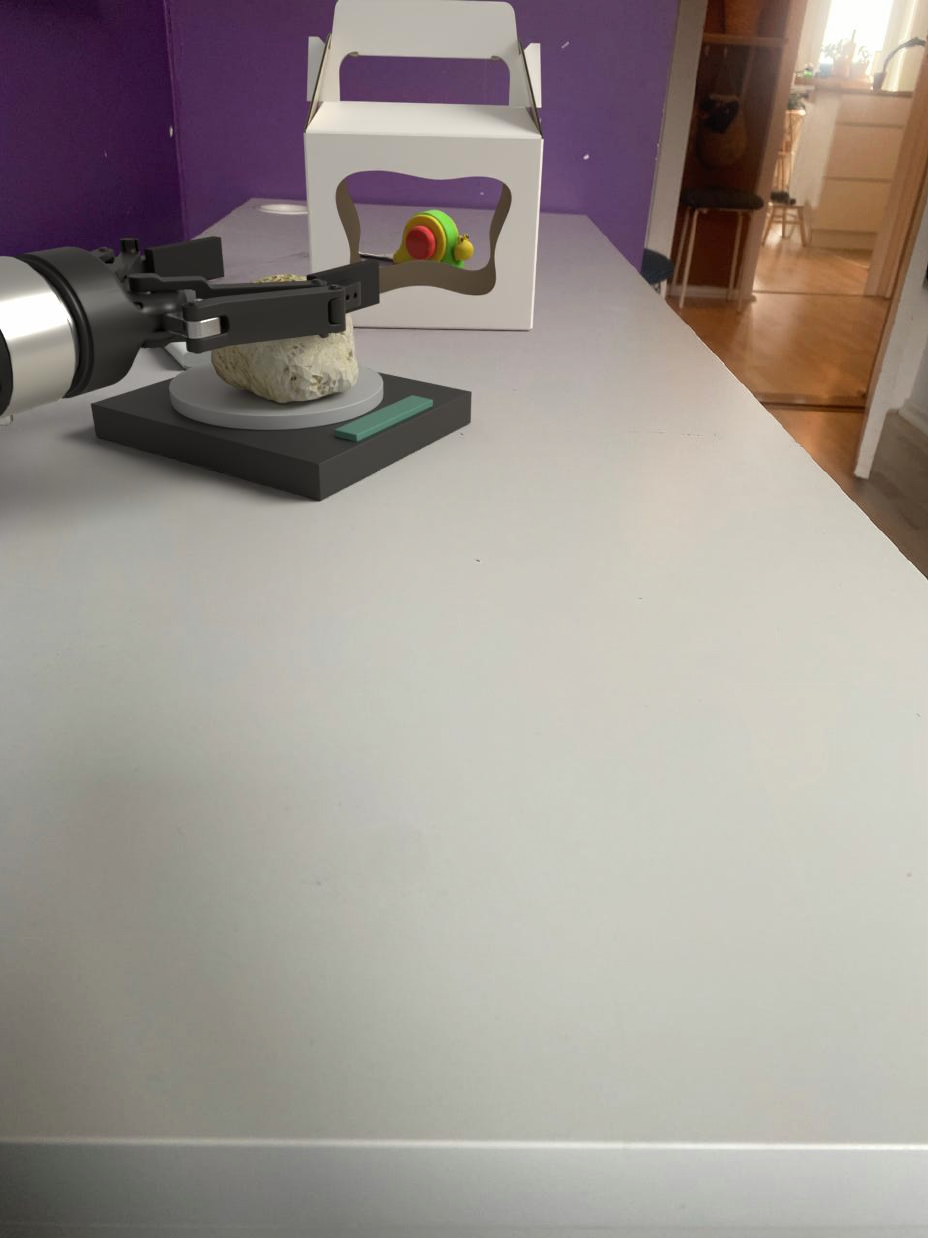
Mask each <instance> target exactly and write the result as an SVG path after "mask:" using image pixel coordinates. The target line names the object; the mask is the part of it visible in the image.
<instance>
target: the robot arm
mask: <svg viewBox="0 0 928 1238" xmlns="http://www.w3.org/2000/svg"><path fill="white" fill-rule="evenodd" d="M139 240H140V239H139V238H134V237H127V238H126V237H125V238H120V239H119V247H120V253H119V254H118V255H117V256H115V253H114V252H115V251H114V249H113V248H108V247H106V246H102V247H99V248H97V249H93V250H91V251H88V250H87V249H84V248H80V247H76V246H61V247H55V248H50V249H43V250H37V251H32V252H25V253H20V254H16V255H14V256H6V255H0V426H5V427H7V426H9V425H11V424H12V423H13V421H14V415H16V414H19V413H23V412H26V411H30V410H33V409H36V408H39V407H43V406H46V405H48V404H51V403H55V402H57V401H59V400H61V399H72V398H75V397H79V396H82V395H85V394H88V393H91V392H94V391H98V390H101V389H104V388H107V387H110V386H113V385H116V384H118V383H119V382H121V381H122V380H123V379H125V377H127V375H128V374H129V372H130V371H131V369H132V367H133V365H134V363H135V360H136V357H137V356H138V355H139V352H140V350H141V349H162V348H164V347H166V346H167V345H168V344H170V343H175V342H186V349H187V351H188V352H192V353H195V354H200V353H203V352H207V351H211V350H215V349H219V348H223V347H227V346H232V345H240V344H248V343H256V342H264V341H272V340H281V339H289V338H297V337H305V336H313V335H319V336H320V337H321V338H326V337H329V333H340V332H344V331H346V314H347V313H350V312H353V311H357V310H360V309H363V308H366V307H369V306H373V305H376V304H379V303H380V290H379V267H380V260H378V259H372V258H369V259H364V260H362V261H360V262H356V263H352V264H348V265H345V266H341V267H337V268H333V269H329V270H325V271H321V272H317V273H313V274H310V273H309V274H306V275H305V277H306V278H307V281H282V282H258V283H250V282H239V283H238V282H236V283H235V282H234V283H213V284H212V283H209V281H213V280H217V279H222V278H225V266H224V255H223V254H224V253H223V244H222V237H221V236H215V235H212V236H207V237H201V238H195V239H190V240H185V241H178V242H174V243H169V244H163V245H158V246H151V247H147V248H143V253H144V254H142V255H141V248H140V241H139ZM190 290H191V291H194V293H195V298H194V299H192V300H189V301H188V296H187V293H186V292H185V291H190Z"/></svg>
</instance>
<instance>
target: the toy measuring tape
mask: <svg viewBox="0 0 928 1238" xmlns="http://www.w3.org/2000/svg"><path fill="white" fill-rule="evenodd" d="M469 240H470V237H469V234H467V233H464V234H463V235H460V234H459V229H458V228H457V225H456V223H455V221H454V220H453V219H452V218H451V217H450V216H449V215H447V214H446V213H445V212H444V211H441V210H438V209H428V210H425V211H421V212H418V213H416V214H414V215H413V216H412V217H410V219H408V221H407V222H406V223H405V224H404V228H403V230H402V238H401V243H400V246H399V248H398V249H397V250H396V251H395V253H384V254H373V253H368V252H361V251H359V255H363V256H368V257H372V258H376V259H386V260H392V262H393V264H394V265H396V264H400V263H405V262H409V261H415V260H430V261H438V262H443V263H447V264H450V265H453V266H456V267H458V268H462V269H463V268H464V265H465V264H464V262H466V261H468V260H470V259H471V258H472V257H473V255H474V253H475V251H474V250H475V249H474V246H473V245H474V244H472V243H471V242H470V241H469Z"/></svg>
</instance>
